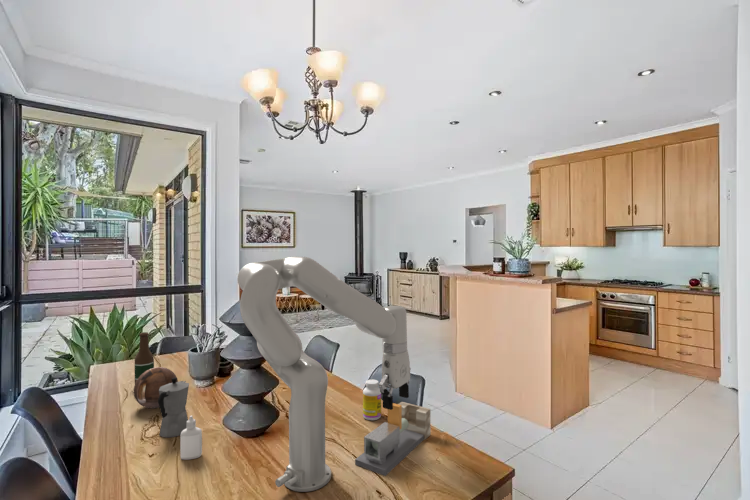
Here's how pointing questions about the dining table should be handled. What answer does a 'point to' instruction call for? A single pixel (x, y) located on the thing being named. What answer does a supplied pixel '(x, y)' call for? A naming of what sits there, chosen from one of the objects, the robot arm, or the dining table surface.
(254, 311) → the robot arm
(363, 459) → the base board
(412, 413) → the socket block
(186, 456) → the eye dropper bottle
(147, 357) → the beer bottle
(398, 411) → the orange upright peg
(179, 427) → the coffeepot
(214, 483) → the dining table surface
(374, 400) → the supplement bottle
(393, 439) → the sleeve
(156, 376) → the wooden sphere
